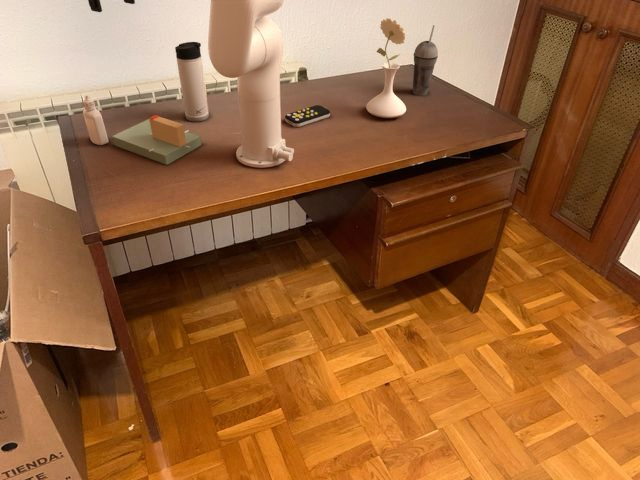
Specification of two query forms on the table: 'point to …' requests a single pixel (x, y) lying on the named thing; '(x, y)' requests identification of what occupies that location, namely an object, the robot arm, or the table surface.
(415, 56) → the beverage cup
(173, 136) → the orange block
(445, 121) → the table surface
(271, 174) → the table surface
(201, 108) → the travel mug
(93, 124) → the eye dropper bottle
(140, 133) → the green flat block
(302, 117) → the remote control
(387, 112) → the flower in vase
